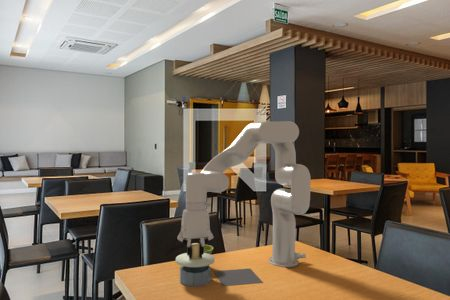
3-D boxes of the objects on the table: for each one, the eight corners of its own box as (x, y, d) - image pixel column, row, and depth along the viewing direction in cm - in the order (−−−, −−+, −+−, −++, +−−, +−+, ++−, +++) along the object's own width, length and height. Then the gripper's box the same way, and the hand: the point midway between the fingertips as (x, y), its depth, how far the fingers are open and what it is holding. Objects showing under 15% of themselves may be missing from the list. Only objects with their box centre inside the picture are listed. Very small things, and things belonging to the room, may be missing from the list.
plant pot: (214, 265, 148) (214, 244, 148) (211, 273, 138) (211, 251, 138) (192, 264, 149) (192, 243, 149) (187, 272, 139) (187, 250, 139)
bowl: (207, 275, 137) (207, 262, 137) (213, 286, 126) (213, 272, 126) (178, 277, 134) (178, 264, 134) (182, 288, 124) (182, 274, 124)
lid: (209, 253, 139) (210, 238, 138) (218, 265, 125) (218, 248, 125) (173, 256, 135) (173, 240, 135) (178, 268, 121) (178, 250, 121)
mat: (250, 269, 143) (250, 268, 143) (263, 284, 129) (263, 282, 129) (213, 272, 140) (213, 271, 140) (222, 287, 125) (222, 286, 125)
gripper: (215, 204, 135) (214, 252, 136) (172, 205, 131) (171, 255, 132) (220, 207, 128) (219, 258, 128) (174, 208, 124) (173, 261, 124)
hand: (195, 256), depth 130 cm, fingers closed on lid, 3 cm apart
